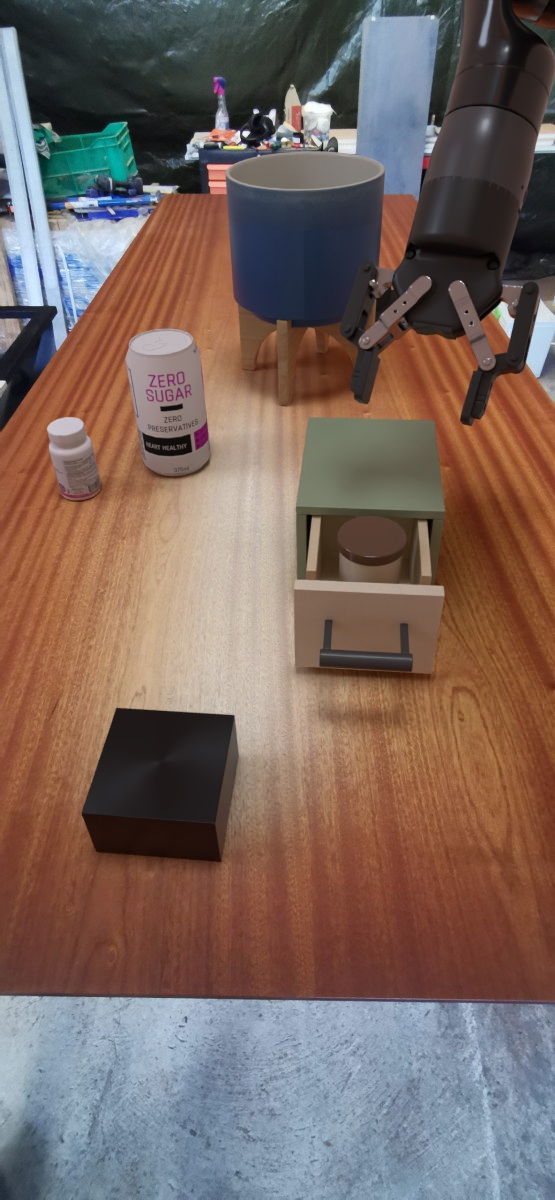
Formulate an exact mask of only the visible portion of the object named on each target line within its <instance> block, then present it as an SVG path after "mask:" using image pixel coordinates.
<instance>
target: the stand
mask: <svg viewBox="0 0 555 1200" xmlns="http://www.w3.org/2000/svg"><path fill="white" fill-rule="evenodd" d="M239 756H240V755H239V744H238V734H237V725H236V716H235V714H227V713H212V712H211V713H209V712H193V711H175V710H163V709H162V710H161V709H160V710H159V709H143V708H128V707H127V708H126V707H116V708H115V711H114V714H113V717H112V719H111V723H110V726H109V729H108V732H107V734H106V738H105V741H104V744H103V747H102V749H101V752H100V755H99V759H98V761H97V765H96V767H95V771H94V774H93V776H92V780H91V783H90V785H89V789H88V791H87V795H86V798H85V801H84V803H83V807H82V809H81V813H80V814H81V816H82V820H83V822H84V824H85V827H86V831H87V832H88V836H89V837H90V840H91V843H92V846H93V848H94V851H95V852H98V853H108V854H123V855H133V856H134V855H135V856H147V857H160V858H172V859H182V860H183V859H185V860H197V861H209V862H222V859H223V852H224V847H225V840H226V836H227V835H226V834H227V828H228V824H229V823H228V822H229V817H230V811H231V805H232V799H233V792H234V786H235V781H236V780H235V779H236V774H237V768H238V764H239V763H238V762H239Z"/></svg>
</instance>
